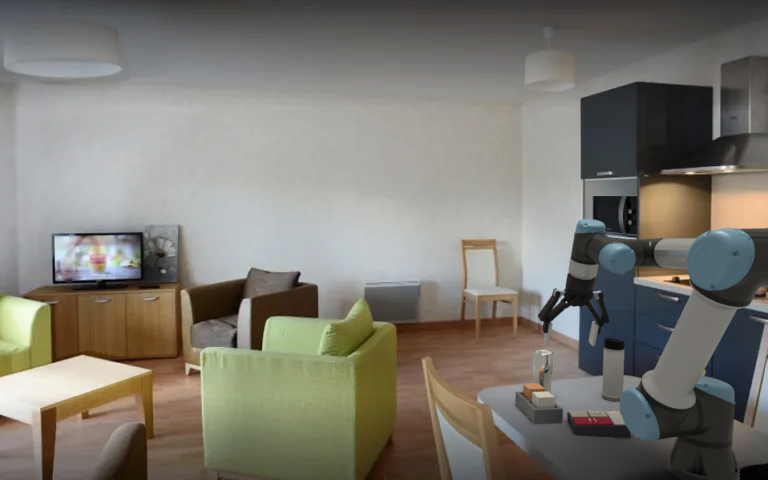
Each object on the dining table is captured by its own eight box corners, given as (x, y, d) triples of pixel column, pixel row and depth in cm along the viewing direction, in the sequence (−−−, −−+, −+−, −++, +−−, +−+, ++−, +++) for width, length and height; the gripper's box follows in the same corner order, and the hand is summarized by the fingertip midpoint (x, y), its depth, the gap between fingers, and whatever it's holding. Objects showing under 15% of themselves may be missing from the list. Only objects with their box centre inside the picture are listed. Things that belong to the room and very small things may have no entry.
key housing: (562, 422, 176) (562, 408, 175) (534, 423, 175) (534, 410, 174) (541, 403, 192) (541, 390, 191) (515, 404, 191) (515, 391, 190)
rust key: (544, 401, 185) (544, 388, 184) (528, 402, 184) (529, 389, 184) (538, 396, 190) (538, 383, 189) (523, 396, 189) (523, 384, 189)
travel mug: (597, 396, 198) (599, 336, 197) (612, 393, 201) (614, 334, 199) (611, 402, 192) (613, 341, 191) (626, 399, 195) (629, 339, 194)
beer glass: (527, 394, 200) (528, 350, 199) (545, 392, 202) (547, 348, 201) (538, 401, 193) (540, 355, 192) (557, 399, 195) (559, 353, 194)
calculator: (566, 409, 177) (619, 408, 175) (567, 423, 177) (620, 423, 176) (574, 423, 166) (630, 423, 165) (574, 438, 167) (631, 438, 165)
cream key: (554, 410, 177) (554, 397, 177) (538, 411, 176) (538, 397, 176) (547, 404, 182) (548, 391, 182) (531, 405, 181) (532, 392, 181)
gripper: (618, 271, 172) (604, 338, 178) (533, 268, 169) (522, 336, 176) (631, 281, 165) (616, 350, 171) (542, 278, 162) (531, 348, 169)
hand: (568, 343), depth 173 cm, fingers open, 13 cm apart
